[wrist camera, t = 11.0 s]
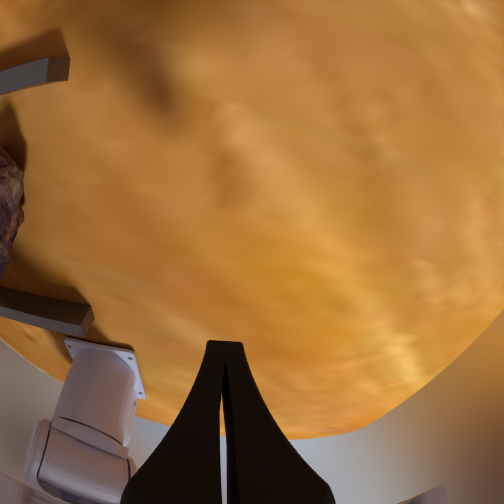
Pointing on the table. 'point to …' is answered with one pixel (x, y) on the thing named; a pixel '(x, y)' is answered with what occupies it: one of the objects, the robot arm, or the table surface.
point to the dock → (19, 303)
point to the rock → (9, 205)
